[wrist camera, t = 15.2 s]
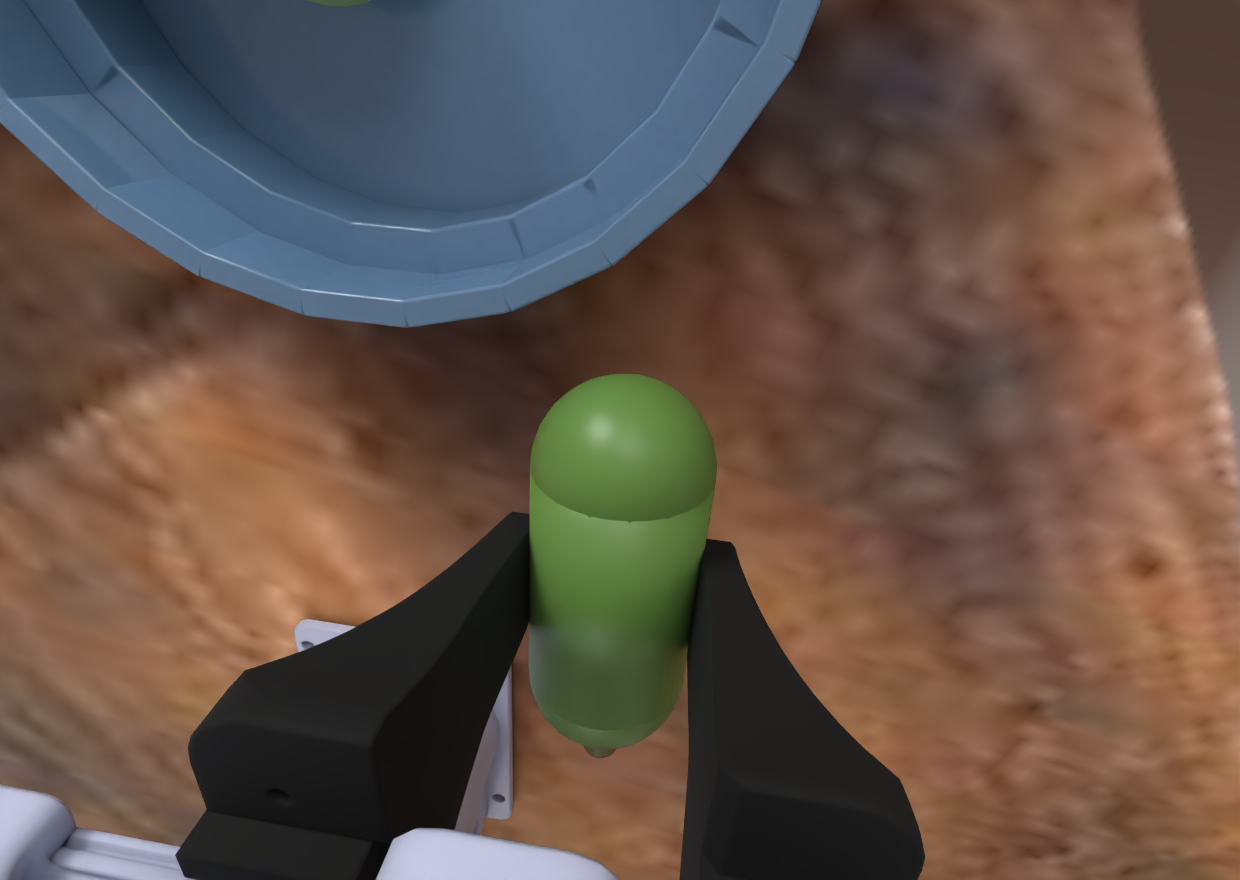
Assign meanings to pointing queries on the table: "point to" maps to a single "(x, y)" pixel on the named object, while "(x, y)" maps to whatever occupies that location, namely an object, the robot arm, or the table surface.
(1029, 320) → the table surface
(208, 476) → the table surface
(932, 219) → the table surface
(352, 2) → the pale zucchini
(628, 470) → the green zucchini
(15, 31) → the bowl
